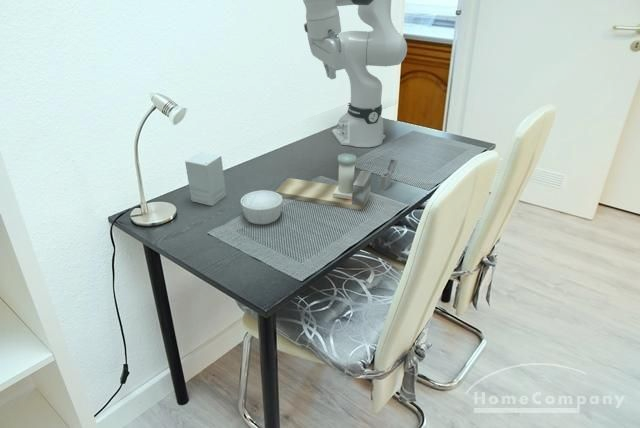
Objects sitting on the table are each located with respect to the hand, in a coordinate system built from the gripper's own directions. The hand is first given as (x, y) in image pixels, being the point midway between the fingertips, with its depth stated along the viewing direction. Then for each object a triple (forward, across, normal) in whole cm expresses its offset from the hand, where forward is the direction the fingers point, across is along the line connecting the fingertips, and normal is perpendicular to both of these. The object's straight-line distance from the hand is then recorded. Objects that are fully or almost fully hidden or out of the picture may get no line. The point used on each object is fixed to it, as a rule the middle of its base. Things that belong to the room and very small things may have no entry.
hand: (331, 77), depth 129 cm
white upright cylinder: (+28, -17, +6) cm, 33 cm away
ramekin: (+26, -18, +31) cm, 44 cm away
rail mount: (+29, -13, +12) cm, 34 cm away
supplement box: (+24, -3, +44) cm, 50 cm away
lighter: (+33, -13, -8) cm, 36 cm away
